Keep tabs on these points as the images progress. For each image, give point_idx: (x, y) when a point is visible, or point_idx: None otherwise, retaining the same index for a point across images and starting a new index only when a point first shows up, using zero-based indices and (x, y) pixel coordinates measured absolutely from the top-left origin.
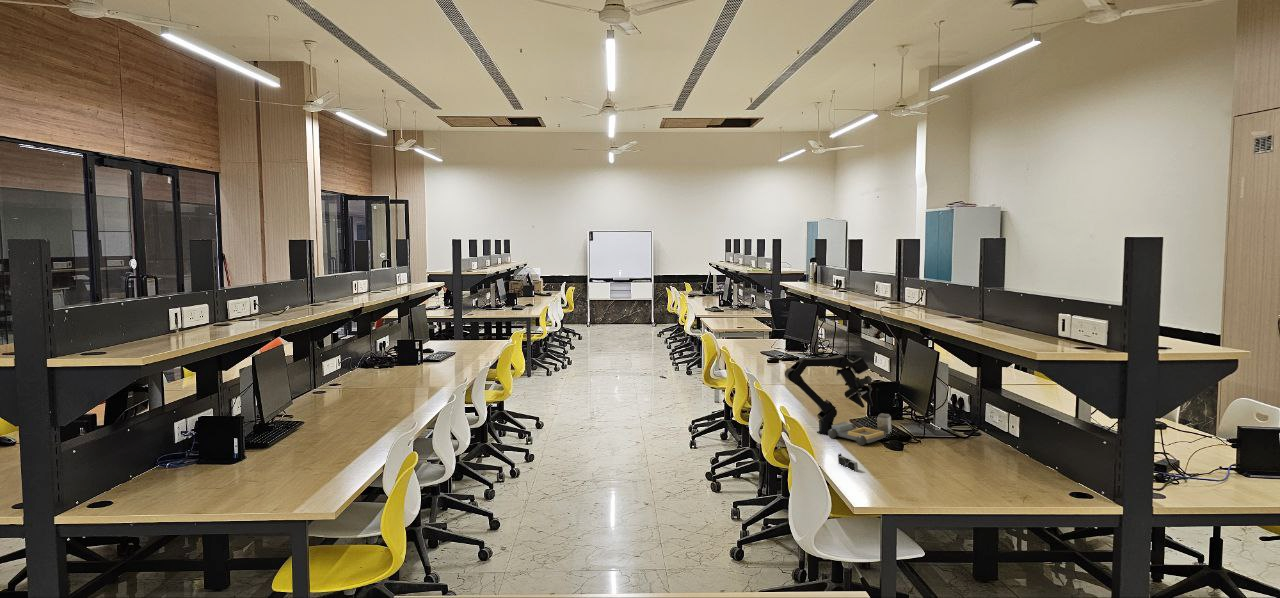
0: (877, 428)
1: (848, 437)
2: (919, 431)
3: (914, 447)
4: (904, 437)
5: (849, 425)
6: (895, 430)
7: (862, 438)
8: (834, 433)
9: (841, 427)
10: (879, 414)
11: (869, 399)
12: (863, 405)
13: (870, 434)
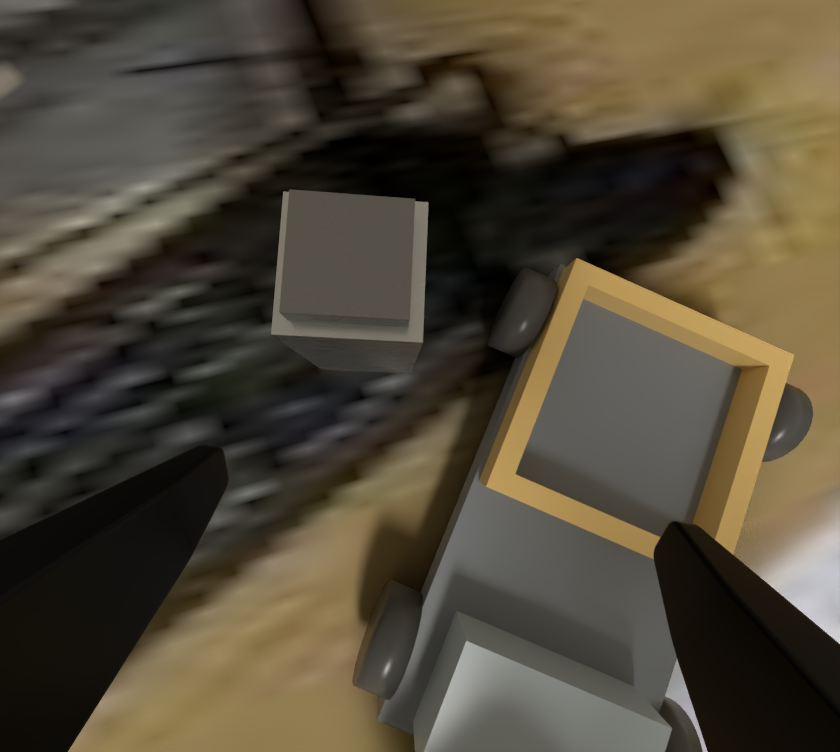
0: (413, 364)
1: None
2: (158, 102)
3: (613, 68)
4: (382, 173)
5: (510, 653)
6: (184, 281)
7: (803, 394)
8: (686, 721)
9: (634, 706)
10: (362, 314)
11: (72, 587)
12: (728, 551)
13: (725, 344)
